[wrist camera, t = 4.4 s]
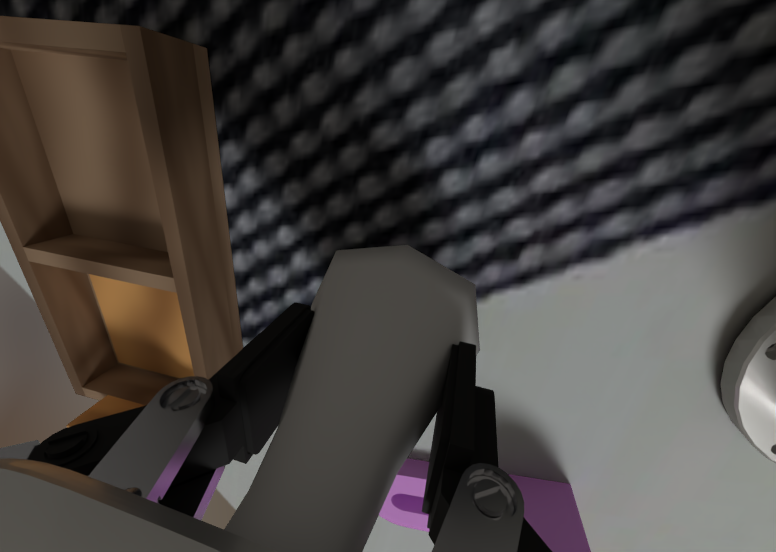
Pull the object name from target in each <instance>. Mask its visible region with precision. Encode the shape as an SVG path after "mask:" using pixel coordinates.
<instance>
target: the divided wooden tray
mask: <svg viewBox="0 0 776 552" xmlns="http://www.w3.org/2000/svg"><path fill="white" fill-rule="evenodd" d="M0 221H1V223H2V226H3V228H4V230H5V233H6V235H7V237H8V239H9V242H10V244H11V246H12V249H13V251H14V253H15V256H16V258H17V260H18V262H19V265H20V267H21V269H22V272H23V274H24V276H25V278H26V281H27V283H28V285H29V288H30V290H31V292H32V294H33V297H34V299H35V301H36V303H37V306H38V308H39V310H40V313H41V315H42V317H43V320H44V322H45V324H46V326H47V329H48V331H49V333H50V335H51V338H52V340H53V342H54V344H55V347H56V349H57V351H58V354H59V356H60V358H61V361H62V363H63V365H64V367H65V370H66V372H67V375H68V377H69V379H70V381H71V384H72V386H73V388H74V390H75V393H76V394H78V395H82V396H86V397H89V398H93V399H97V400H100V401H99V402H97V403H96V404H95V405H93V406H92V407H91V408H89V409H88V410H87V411H85V412H84V413H82V414H81V415H80V416H78V417H77V418H76V419H74V420H73V421H72V422H70V423H69V424H68V425H67V428H68V427H70V426H73V425H76V424H80V423H83V422H87V421H91V420H94V419H98V418H102V417H105V416H109V415H112V414H116V413H120V412H123V411H127V410H131V409H134V408H138V407H141V406H145V405H148V403H149V402H150V401H151V400H152V399H153V397H154V396H155V395H156V394H157V393H158V392H159V391H160V390H161V389H162V388H163V387H164V386H166V385H168V384H169V383H171V382H173V381H175V380H178V379H180V378H185V377H189V376H199V377H204V378H206V379H208V380H209V379H210V378H211V377H212V376H213V375H214V374H215V373H216V372H218V371H219V370H220V369H221V368H222V367H223V366H224V365H225V364H226V363H228V362H229V361H230V360H231V359H232V358H233V357H234V356H235V355H236V354H237V353H239V352H240V351H241V350H242V349H243V344H242V336H241V327H240V319H239V311H238V303H237V294H236V286H235V278H234V269H233V261H232V253H231V244H230V236H229V228H228V220H227V211H226V203H225V195H224V186H223V178H222V170H221V161H220V153H219V145H218V136H217V128H216V120H215V112H214V103H213V95H212V87H211V78H210V70H209V62H208V53H207V48H205V47H202V46H199V45H196V44H193V43H189V42H186V41H183V40H180V39H177V38H174V37H171V36H168V35H165V34H162V33H159V32H156V31H153V30H150V29H147V28H144V27H141V26H132V25H118V24H105V23H91V22H77V21H63V20H50V19H36V18H22V17H8V16H0Z"/></svg>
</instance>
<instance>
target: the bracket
mask: <svg viewBox="0 0 776 552" xmlns="http://www.w3.org/2000/svg"><path fill="white" fill-rule="evenodd" d="M428 467H429V462H427V461H421V460H415V459H408V458H407V459H406V460H405V462H404V463H403V465H402V467H401V468H400V470H399V471H398V473H397V475H396V477H395V479H394V482H393V484H392V486H391V488H390V491H389V493H388V495H387V497H386V500H385V502H384V504H383V506H382V509H381V511H380V513H379V516H381V517H382V518H384V519H386V520H388V521H389V522H392V523H394V524H397V525H400V526H404V527H408V528H413V529H418V530H423V531H428V532H429V528H427V523H428V516H429V514H426V513H423V512H422V505H423V499H424V493H425V486H426V480H427V473H428ZM508 475H509V476H510V477H511V478H512V479H513V480H514V481H515V482H516V484H517V486H518V488H519V489H520V491H521V493H522V496H523V500H524V518H525V519H526V520H527V522H528V523H529V524H530V525H531V526H532V528H533V529H534V530H535V531H536V533H537V534H538V535H539V536H540V537H541V539H542V540H543V541H544V542H545V543H546V545H547V546H548V547H549V548H550V549H551V551H552V552H591V551H590V548H589V544H588V541H587V538H586V534H585V531H584V528H583V524H582V521H581V518H580V515H579V511H578V508H577V505H576V501H575V498H574V495H573V492H572V488H571V485H570V484H568V483H561V482H555V481H549V480H542V479H536V478H530V477H523V476H517V475H510V474H508Z"/></svg>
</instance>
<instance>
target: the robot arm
mask: <svg viewBox="0 0 776 552" xmlns="http://www.w3.org/2000/svg"><path fill="white" fill-rule="evenodd" d="M314 313H315V312H314V311H313V310H311V307H310V306H309V305H304V304H300V303H293V304H292V305H291V306H290V307H289V308H288V309H286V310H285V311H284V312H283V313H282V314H281V315H280V316H279V317H278V318H277V319H275V320H274V321H273V322H272V323H271V324H270V325H269V326H268V327H267V328H266V329H264V330H263V331H262V332H261V333H260V334H258V335H257V336H256V337H255V338H254V339H253V340H252V341H251V342H250V343H248V344H247V345H246V346H245V347H244V348H243V349H242V350H241V351H240V352H239V353H237V354H236V355H235V356H234V357H233V358H232V359H231V360H230V361H229V362H228V363H226V364H225V365H224V366H223V367H222V368H221V369H220V370H219V371H218V372H216V373H215V374H214V375H213V376H212V377H211V378H210V379H209V380H208V379H206V378H204V377H199V376H189V377H185V378H180V379H178V380H175V381H173V382H171V383H169V384H168V385H166V386H164V387H163V388H162V389H161V390H160V391H159V392H158V393H157V394H156V395H155V396H154V397H153V399H152V400H151V401H150V402H149V403H148V405H145V406H141V407H138V408H134V409H131V410H127V411H123V412H120V413H116V414H112V415H109V416H105V417H102V418H98V419H94V420H91V421H87V422H83V423H80V424H76V425H73V426H70V427H68V428H65V429H63V430H61V431H59V432H57V433H55V434H53V435H52V436H50V437H49V438H47V439H46V440H44V441H43V442H42V443H41V444H40V443H39V441H38V440H35V441H31V442H26V443H22V444H17V445H13V446H8V447H4V448H0V552H277V551H275V550H272V549H270V548H268V547H265V546H263V545H260V544H258V543H255V542H253V541H250V540H248V539H245V538H243V537H240V536H238V535H235V534H233V533H231V532H228V531H226V530H223V529H221V528H218V527H216V526H213V525H211V524H208V523H206V522H203V521H201V520H202V517H203V515H204V513H205V511H206V509H207V506H208V504H209V502H210V500H211V498H212V495H213V493H214V491H215V489H216V487H217V484H218V482H219V480H220V478H221V476H222V473H223V471H224V469H225V465H227V464H230V462H231V461H232V460H233V459H234V460H237V461H239V462H242V463H245V464H246V463H247V462H248V461H249V459H250V458H251V456H252V455H253V454H255V455H256V454H258V453H259V452H260V451H261V449H262V448H263V447H264V445H265V444H266V442H267V441H268V439H269V438H270V436H271V435H272V434H273V432H274V431H275V429H276V428H277V426H278V425H279V422H280V419H281V415H282V412H283V408H284V405H285V402H286V398H287V395H288V392H289V388H290V385H291V381H292V378H293V375H294V371H295V368H296V364H297V361H298V358H299V356H300V353H301V350H302V347H303V344H304V342H305V339H306V336H307V333H308V330H309V327H310V325H311V322H312V319H313V316H314ZM475 383H476V345H474V344H470V343H466V342H461V341H460V342H459V345H455V344H452V349H451V354H450V360H449V365H448V370H447V375H446V380H445V385H444V390H443V395H442V400H441V406H440V408H439V409H438V411H437V415H436V422H435V428H434V435H433V441H432V448H431V454H430V460H429V467H428V473H427V480H426V486H425V493H424V499H423V505H422V512H423V513H426V514H429V516H428V523H427V528H429V536H430V538H431V540H432V541H433V543H434V548H433V550H432V552H552V551H551V549H550V548H549V547H548V546H547V545H546V543H545V542H544V541H543V540H542V539H541V537H540V536H539V535H538V534H537V533H536V531H535V530H534V529H533V528H532V526H531V525H530V524H529V523H528V522H527V520H526V519H525V518H524V500H523V496H522V493H521V491H520V489H519V488H518V486H517V484H516V482H515V481H514V480H513V479H512V478H511V477H510V476H509V475H508V474H507V473H506V472H504V471H503V470H501V469H500V468H498V452H497V434H496V415H495V397H494V392H493V390H489V389H485V388H481V387H477V386H475ZM721 392H722V400H723V404H724V407H725V409H726V411H727V413H728V415H729V418H730V420H731V421H732V422H733V424H734V425H735V426H736V427H737V428H738V429H739V431H740V432H741V433H742V434H743V435H744V436H745V438H746V439H747V440H748V441H749V442H750V443H751V444H752V445H753V446H754V447H755V448H756V449H757V450H758V451H759V452H760V453H761V454H762V455H763V456H765V457H766V458H768V459H769V460H771V461H773V462H775V463H776V297H775V298H774V299H772V300H771V301H770V302H769V303H768V304H767V305H766V306H765V307H764V308H763V309H761V310H760V311H759V312H758V313H757V314H756V315H755V316H754V317H753V318H752V319H751V321H750V322H749V323H748V324H747V326H746V327H745V328H744V330H743V331H742V332H741V333H740V335H739V336H738V337H737V339H736V340H735V342H734V344H733V346H732V348H731V350H730V352H729V354H728V356H727V358H726V360H725V363H724V368H723V373H722V378H721Z"/></svg>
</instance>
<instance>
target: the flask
mask: <svg viewBox="0 0 776 552" xmlns="http://www.w3.org/2000/svg"><path fill="white" fill-rule="evenodd" d="M311 310H313V311H314V312H315V313H314V316H313V319H312V322H311V325H310V327H309V330H308V333H307V336H306V339H305V342H304V344H303V347H302V350H301V353H300V356H299V358H298V361H297V364H296V368H295V371H294V375H293V378H292V381H291V385H290V388H289V392H288V395H287V398H286V402H285V405H284V408H283V412H282V415H281V419H280V422H279V425H278V429H277V431H276V433H275V435H274V437H273V440H272V442H271V444H270V446H269V448H268V450H267V453H266V455H265V457H264V459H263V461H262V463H261V465H260V468H259V470H258V472H257V474H256V476H255V478H254V480H253V483H252V485H251V487H250V489H249V491H248V493H247V494H246V496H245V497H244V499H243V501H242V502H241V504H240V505H239V507H238V509H237V510H236V512H235V513H234V515H233V516H232V518H231V520H230V521H229V523H228V524H227V526H226V528H225V529H224V530H226V531H228V532H231V533H233V534H235V535H238V536H240V537H243V538H245V539H248V540H250V541H253V542H255V543H258V544H260V545H263V546H265V547H268V548H270V549H272V550H275V551H277V552H362V551H363V549H364V546H365V544H366V542H367V540H368V538H369V535H370V533H371V531H372V529H373V526H374V524H375V522H376V520H377V517H378V515H379V513H380V511H381V509H382V506H383V504H384V502H385V500H386V497H387V495H388V493H389V491H390V488H391V486H392V484H393V482H394V479H395V477H396V475H397V473H398V471H399V470H400V468H401V467H402V465H403V463H404V462H405V460H406V459H407V457H408V456H409V454H410V453H411V451H412V450H413V448H414V446H415V445H416V443H417V442H418V440H419V439H420V437H421V436H422V434H423V433H424V431H425V430H426V428H427V426H428V425H429V423H430V422H431V420H432V419H433V417H434V416H435V414H436V413H437V411H438V409H439V408H440V406H441V400H442V395H443V390H444V385H445V380H446V375H447V370H448V365H449V360H450V354H451V349H452V344H455V345H459V342H460V341H461V342H466V343H470V344H474V345H476V355H477V354H478V352H479V351H480V346H479V332H478V317H477V302H476V288H475V284H473V283H471V282H470V281H468V280H466V279H465V278H463V277H461V276H459V275H458V274H456V273H454V272H453V271H451V270H449V269H448V268H446V267H444V266H443V265H441V264H439V263H437V262H436V261H434V260H432V259H431V258H429V257H427V256H426V255H424V254H422V253H421V252H419V251H417V250H415V249H414V248H412V247H410V246H409V245H398V246H386V247H373V248H361V249H349V250H336V252H335V255H334V257H333V259H332V261H331V263H330V266H329V268H328V270H327V272H326V274H325V277H324V279H323V281H322V283H321V285H320V288H319V290H318V292H317V294H316V296H315V299H314V301H313V303H312V306H311Z"/></svg>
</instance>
